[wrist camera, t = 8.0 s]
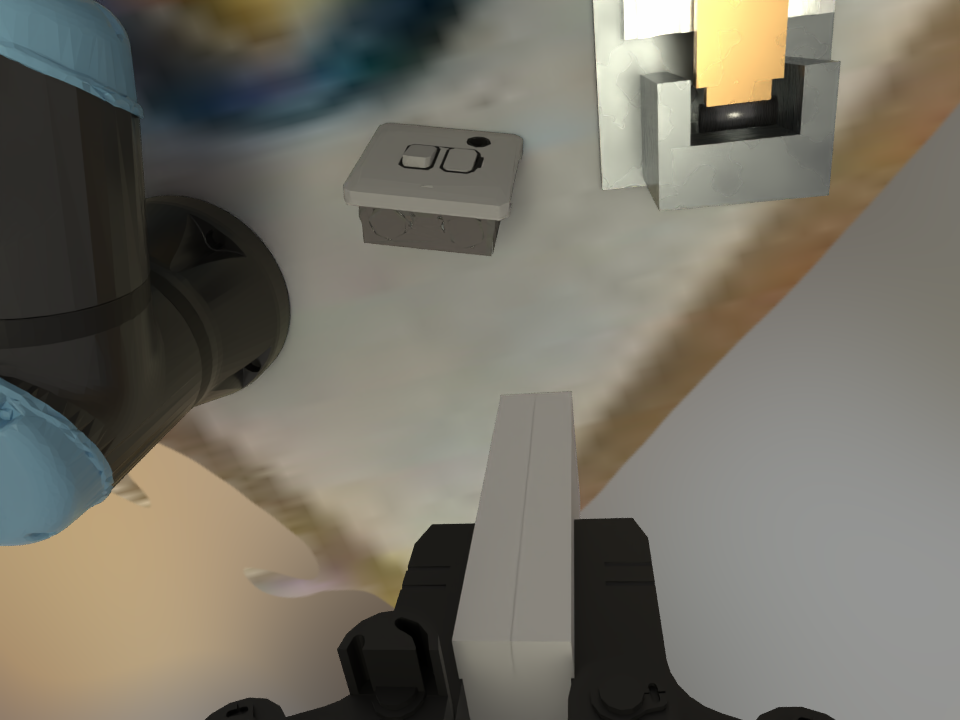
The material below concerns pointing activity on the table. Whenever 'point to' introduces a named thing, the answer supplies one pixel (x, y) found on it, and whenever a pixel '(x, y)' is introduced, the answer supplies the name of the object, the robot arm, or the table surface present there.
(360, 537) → the table surface
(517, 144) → the electrical switch
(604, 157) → the base
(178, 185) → the table surface
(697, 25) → the strap
